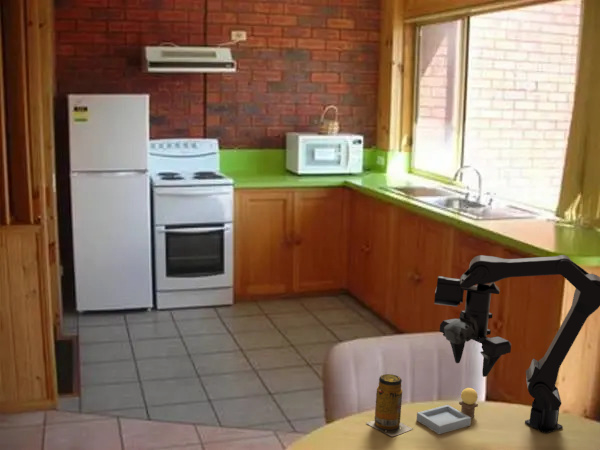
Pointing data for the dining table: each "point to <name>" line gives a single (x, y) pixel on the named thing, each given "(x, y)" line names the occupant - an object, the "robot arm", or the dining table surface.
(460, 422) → the tray
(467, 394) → the ball
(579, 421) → the dining table surface
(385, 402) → the condiment
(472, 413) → the egg cup
